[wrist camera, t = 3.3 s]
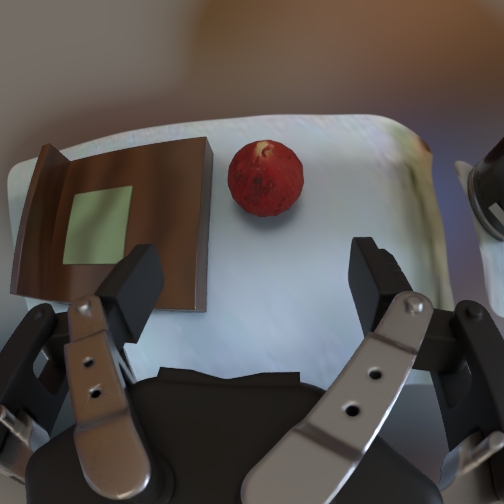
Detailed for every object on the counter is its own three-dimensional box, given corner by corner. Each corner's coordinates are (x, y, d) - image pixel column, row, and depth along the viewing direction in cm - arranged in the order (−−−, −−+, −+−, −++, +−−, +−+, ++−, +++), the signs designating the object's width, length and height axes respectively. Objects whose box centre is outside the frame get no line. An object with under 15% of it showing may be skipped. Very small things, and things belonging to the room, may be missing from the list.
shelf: (213, 153, 27) (194, 107, 21) (206, 312, 24) (176, 305, 17) (77, 174, 29) (42, 145, 22) (56, 303, 25) (9, 293, 19)
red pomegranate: (288, 238, 24) (290, 198, 17) (225, 217, 25) (202, 172, 18) (309, 180, 26) (316, 125, 18) (250, 163, 27) (237, 106, 19)
